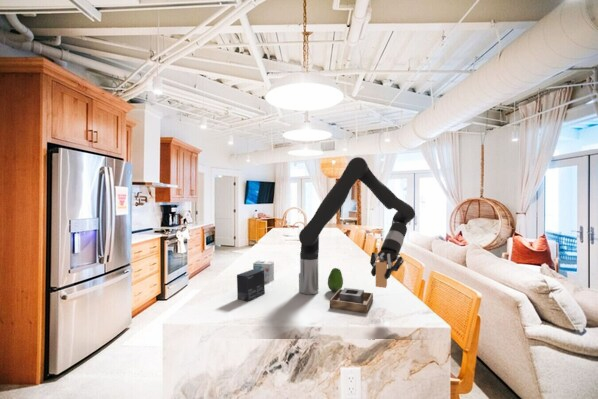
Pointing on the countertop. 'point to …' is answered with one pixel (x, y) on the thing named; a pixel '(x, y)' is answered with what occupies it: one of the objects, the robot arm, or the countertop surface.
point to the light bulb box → (265, 269)
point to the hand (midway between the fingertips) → (379, 276)
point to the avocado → (335, 280)
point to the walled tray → (351, 305)
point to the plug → (381, 272)
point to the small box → (250, 284)
